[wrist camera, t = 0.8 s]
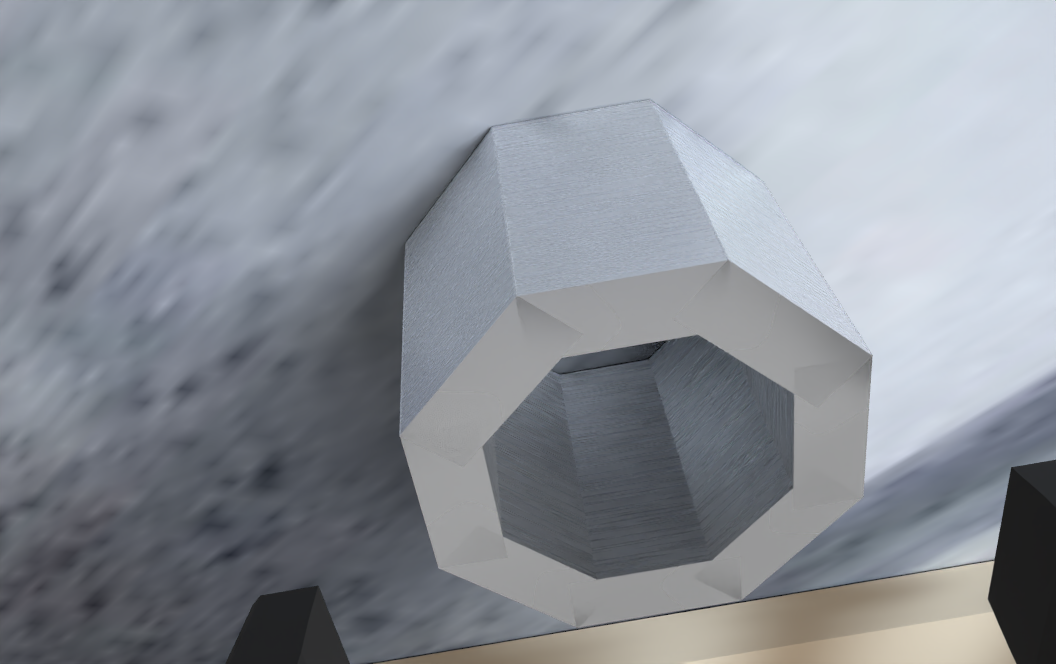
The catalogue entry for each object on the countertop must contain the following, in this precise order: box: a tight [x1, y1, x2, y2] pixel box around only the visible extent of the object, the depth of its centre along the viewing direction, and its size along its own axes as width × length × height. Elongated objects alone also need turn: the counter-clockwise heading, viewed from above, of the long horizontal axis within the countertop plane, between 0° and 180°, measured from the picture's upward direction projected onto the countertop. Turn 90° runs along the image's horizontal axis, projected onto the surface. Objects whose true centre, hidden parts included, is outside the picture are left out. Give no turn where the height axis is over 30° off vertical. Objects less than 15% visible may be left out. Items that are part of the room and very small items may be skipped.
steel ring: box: [399, 99, 873, 628], centre depth 14 cm, size 6×6×4 cm
